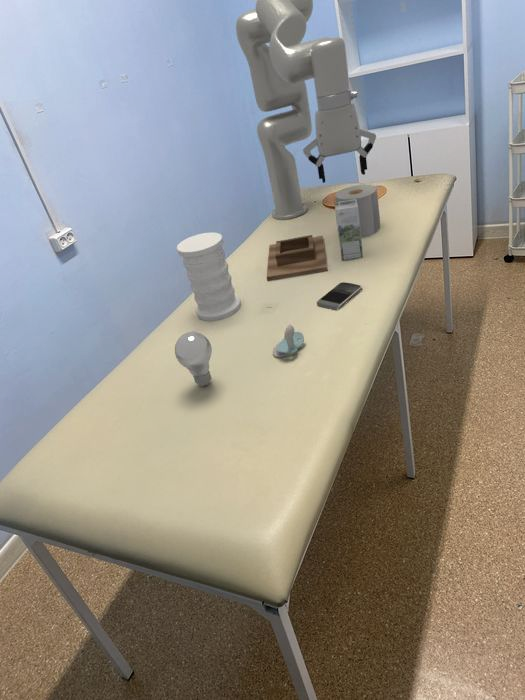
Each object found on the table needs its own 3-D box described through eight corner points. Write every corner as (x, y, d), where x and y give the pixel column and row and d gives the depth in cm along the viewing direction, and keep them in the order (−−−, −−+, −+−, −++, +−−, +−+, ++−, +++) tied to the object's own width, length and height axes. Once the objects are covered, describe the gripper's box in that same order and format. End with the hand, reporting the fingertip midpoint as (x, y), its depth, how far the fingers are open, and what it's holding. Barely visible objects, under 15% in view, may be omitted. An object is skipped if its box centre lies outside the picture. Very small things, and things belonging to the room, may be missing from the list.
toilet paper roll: (386, 222, 148) (383, 183, 142) (371, 239, 141) (367, 199, 134) (349, 222, 155) (344, 185, 148) (332, 238, 147) (327, 199, 141)
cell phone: (364, 290, 118) (363, 285, 117) (337, 313, 112) (336, 307, 111) (342, 286, 122) (341, 280, 121) (315, 307, 116) (314, 302, 115)
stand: (270, 248, 150) (267, 235, 148) (323, 239, 148) (321, 225, 145) (267, 281, 132) (264, 266, 130) (327, 271, 130) (325, 256, 127)
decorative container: (229, 292, 131) (211, 228, 121) (249, 307, 122) (231, 239, 112) (189, 309, 128) (168, 244, 118) (207, 326, 118) (185, 257, 109)
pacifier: (267, 359, 102) (293, 362, 99) (260, 333, 99) (287, 336, 96) (283, 339, 107) (308, 341, 104) (277, 314, 104) (302, 316, 101)
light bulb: (208, 399, 95) (190, 347, 88) (181, 392, 99) (162, 342, 92) (228, 377, 99) (213, 326, 93) (201, 371, 103) (185, 322, 97)
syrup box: (361, 249, 136) (356, 197, 128) (363, 258, 131) (357, 205, 123) (340, 252, 137) (334, 201, 129) (341, 261, 132) (334, 209, 124)
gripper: (370, 91, 115) (376, 166, 124) (296, 108, 118) (308, 180, 127) (374, 95, 109) (381, 174, 118) (296, 112, 112) (308, 188, 121)
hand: (343, 177), depth 122 cm, fingers open, 9 cm apart
